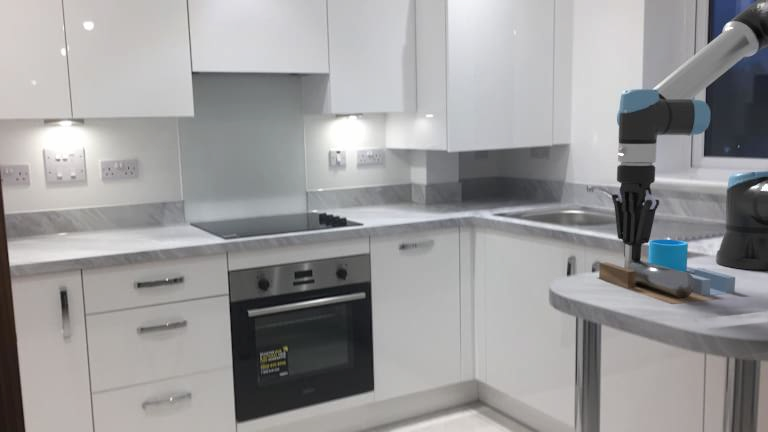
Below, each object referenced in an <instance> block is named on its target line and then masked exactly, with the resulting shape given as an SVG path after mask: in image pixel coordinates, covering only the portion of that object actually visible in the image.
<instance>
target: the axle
mask: <svg viewBox="0 0 768 432" xmlns="http://www.w3.org/2000/svg"><path fill="white" fill-rule="evenodd" d="M628 269H630V270H633V271H636V282H635V283H636V284H639V285H642V286H645V287H648V288H651V289H654V290H657V291H660V292H663V293H666V294H669V295H672V296H676V297H679V298H686V297H688V296H689V295H690V294H691V293H692V292H693V289H694V285H695V283H694V279H693V277H692V276H691V275H690V274H691V273H688V272H686V273H685V272H681V271H678V270H674V269H671V268H667V267H663V266H660V265H656V264H653V263H649V261H645V260H641V259H640V260H635V261H633V262H632V263H631V264H630V265H629V267H628Z"/></svg>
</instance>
